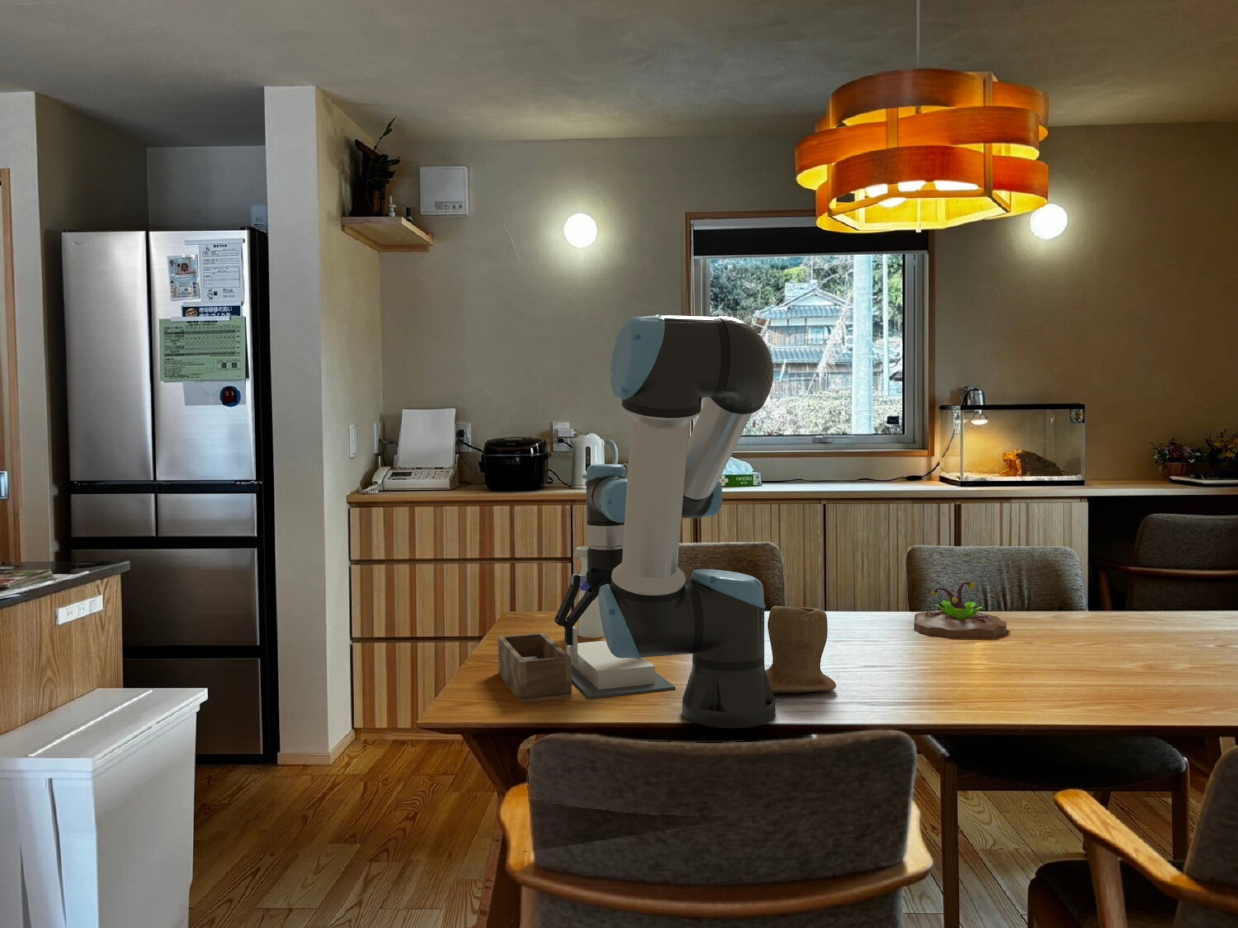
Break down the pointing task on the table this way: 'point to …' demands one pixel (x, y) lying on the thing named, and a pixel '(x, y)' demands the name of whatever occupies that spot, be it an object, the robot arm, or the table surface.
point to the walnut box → (534, 667)
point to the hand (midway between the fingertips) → (608, 658)
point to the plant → (958, 619)
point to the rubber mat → (593, 692)
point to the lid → (611, 667)
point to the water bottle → (591, 617)
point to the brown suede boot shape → (797, 650)
